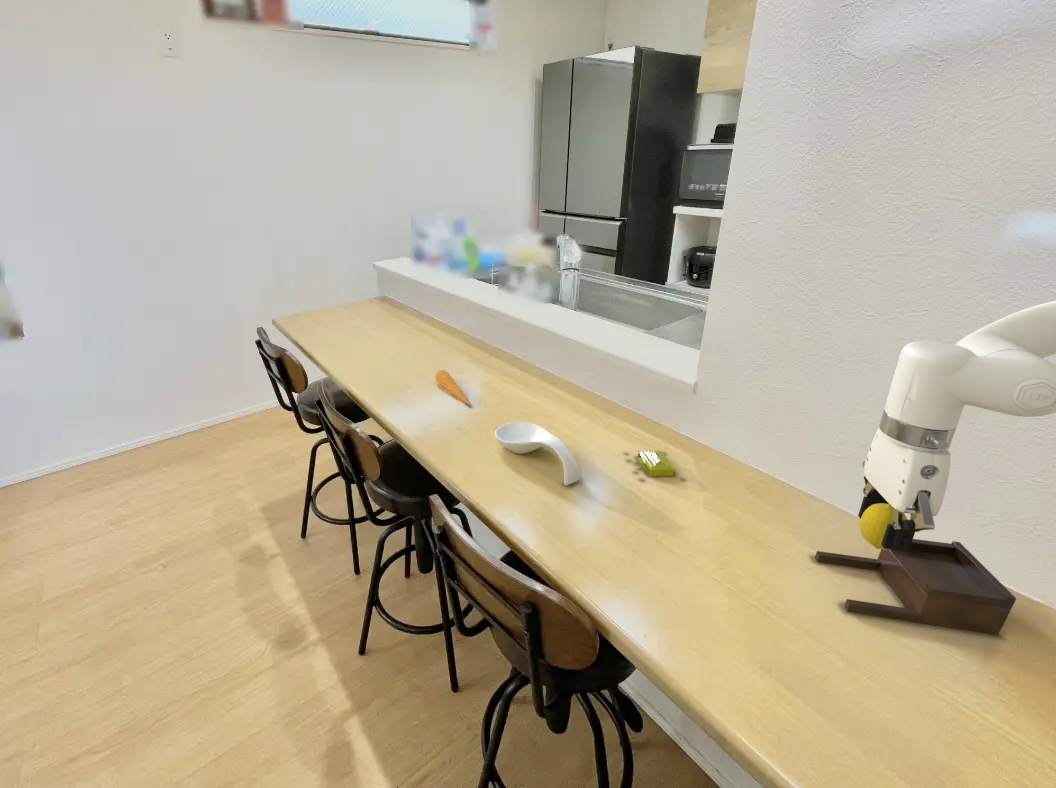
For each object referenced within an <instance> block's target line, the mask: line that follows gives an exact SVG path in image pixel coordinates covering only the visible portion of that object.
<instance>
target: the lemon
mask: <svg viewBox="0 0 1056 788" xmlns="http://www.w3.org/2000/svg"><path fill="white" fill-rule="evenodd" d="M892 515H893V507H892V506H891V505H890V504H886V503H877V504H873V505H871V506H869V507H868V508H867V509H866V510H865V511H864V513H863V514H862V517H861V519H859V520H860V521H859V529H860V533H861V535H862V537H863V538H864V540H866V542H867V543H869V544H870V545H871V546H873V547H874V548H875V549H877V550H881V549H885V548H883V546H882V545H881V544H882V541H883V538H884V534H885V531H886V528H887V525H888V524H892ZM902 520H909V519H908V517H907V516H906V513H902ZM885 550H890V549H885Z"/></svg>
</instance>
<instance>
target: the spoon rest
mask: <svg viewBox="0 0 1056 788" xmlns="http://www.w3.org/2000/svg"><path fill="white" fill-rule="evenodd" d="M494 437H495V439H496V441H497V442H498V443H499V444H500V446H502V447H504V448H505V449H506V450H509V451H511V452H512V453H515V454H518V455H525V454H530V453H531V452H533V451H535V450H537V449H539V448H541V447H542V446H545V447H548V448H550V449H551V450H553V452H554V453H556V455H557V456H558V458H559V459H560V461H561V464H562V468H563V484H564V486H569V485H571V484H573V483H576V482H578V481H579V480H581V479H582V470H581V466H580V464H579V461H578V460H577V458H576V456H575V454H574V453H573V452H572V450H571V449H570V448H569V446H568V445H567V444H566V443H565V442H564V441H562V439H560V438H559V437H557V436H556V435H554V434H553V433H550V432H549V431H548V430H546V429H545V428H544V427H542V426H541V425H538V424H537V423H533V422H529V421H512V422H508V423H505V424H502V425H500V426H498V428H496V429H495V431H494Z"/></svg>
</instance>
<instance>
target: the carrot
mask: <svg viewBox="0 0 1056 788" xmlns="http://www.w3.org/2000/svg"><path fill="white" fill-rule="evenodd" d="M434 377H435V381H436V382H438V383H439V384H440V385H441V386H442V387H444V388H445V389H446V390H448V391H449V392H450V393H452V394H453V395H454V396H455V397H457V398H458V399H459V400H461V401H462V402H464V403H465V404H467V405H468V406H471V404H470V402H469V400H468V399H467V396H466V395H465V394H464V392H463V391H462V390H461V388H460V387H459V386H458V384H457V382H456V381H455V380H454V378H453V377H452V375H451V374H450V373H449V372H448V371H447V370H445V369H444V368H443V369H438V370H437V371H436V372H435V375H434Z"/></svg>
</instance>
